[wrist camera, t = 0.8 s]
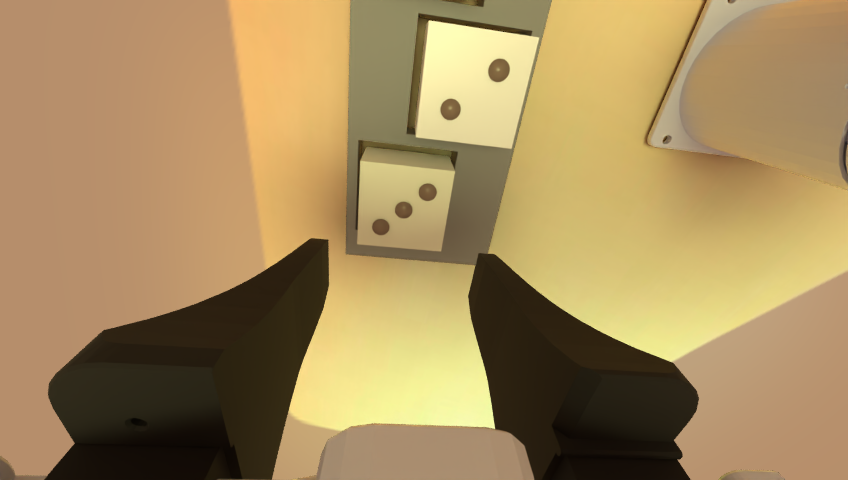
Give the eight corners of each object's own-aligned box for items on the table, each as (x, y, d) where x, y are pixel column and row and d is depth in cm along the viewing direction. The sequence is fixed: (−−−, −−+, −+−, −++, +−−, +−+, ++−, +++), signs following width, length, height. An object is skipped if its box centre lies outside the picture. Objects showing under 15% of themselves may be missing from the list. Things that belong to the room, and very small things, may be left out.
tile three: (448, 156, 19) (455, 171, 16) (437, 228, 21) (441, 252, 19) (366, 146, 19) (360, 161, 16) (363, 221, 21) (357, 245, 18)
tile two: (519, 39, 16) (540, 37, 14) (497, 135, 19) (512, 149, 16) (425, 25, 16) (429, 20, 13) (414, 125, 18) (415, 137, 16)
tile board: (582, -184, 14) (607, -218, 12) (478, 250, 24) (484, 265, 22) (362, -234, 13) (355, -278, 11) (350, 238, 23) (345, 254, 21)
